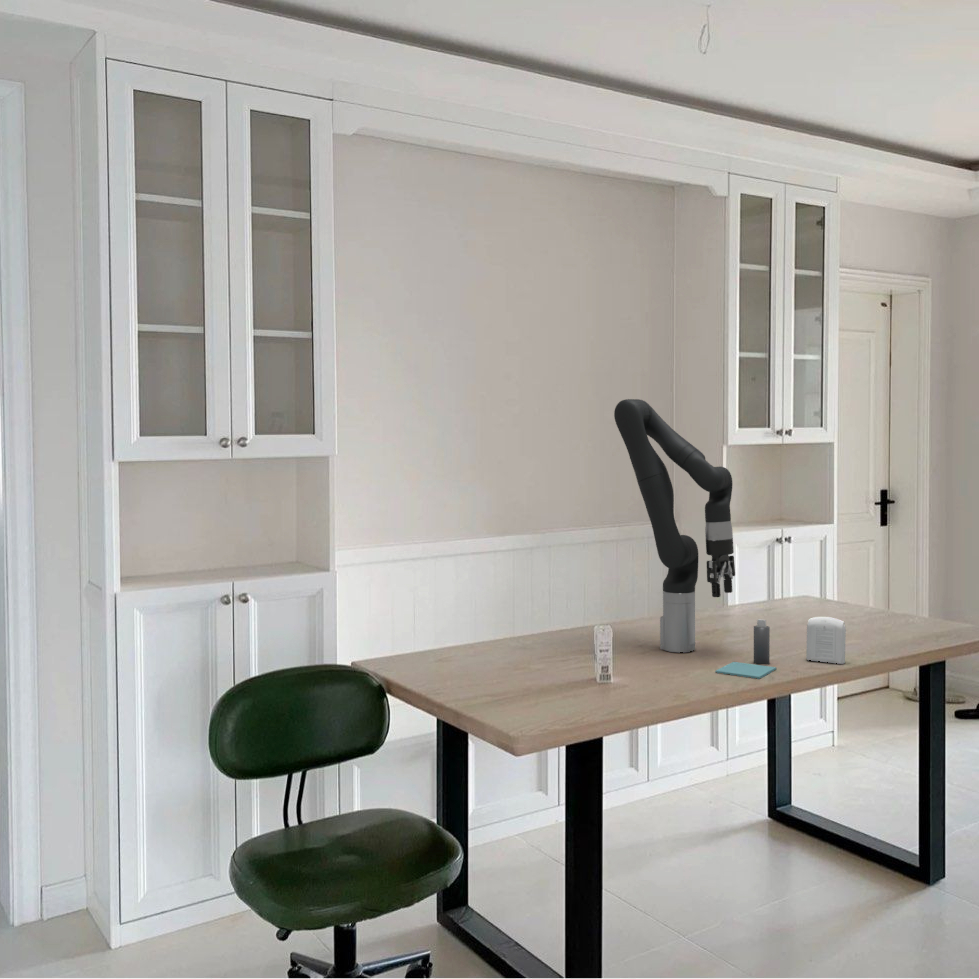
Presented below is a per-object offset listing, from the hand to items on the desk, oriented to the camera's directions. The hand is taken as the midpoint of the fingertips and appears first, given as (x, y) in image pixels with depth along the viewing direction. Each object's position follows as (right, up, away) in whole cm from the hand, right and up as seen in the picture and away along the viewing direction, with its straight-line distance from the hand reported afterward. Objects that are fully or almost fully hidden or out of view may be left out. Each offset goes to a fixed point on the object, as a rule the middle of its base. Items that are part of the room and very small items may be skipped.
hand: (722, 594), depth 289 cm
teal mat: (+2, -18, -18) cm, 26 cm away
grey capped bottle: (+9, -18, -9) cm, 22 cm away
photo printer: (+26, -18, -8) cm, 33 cm away
